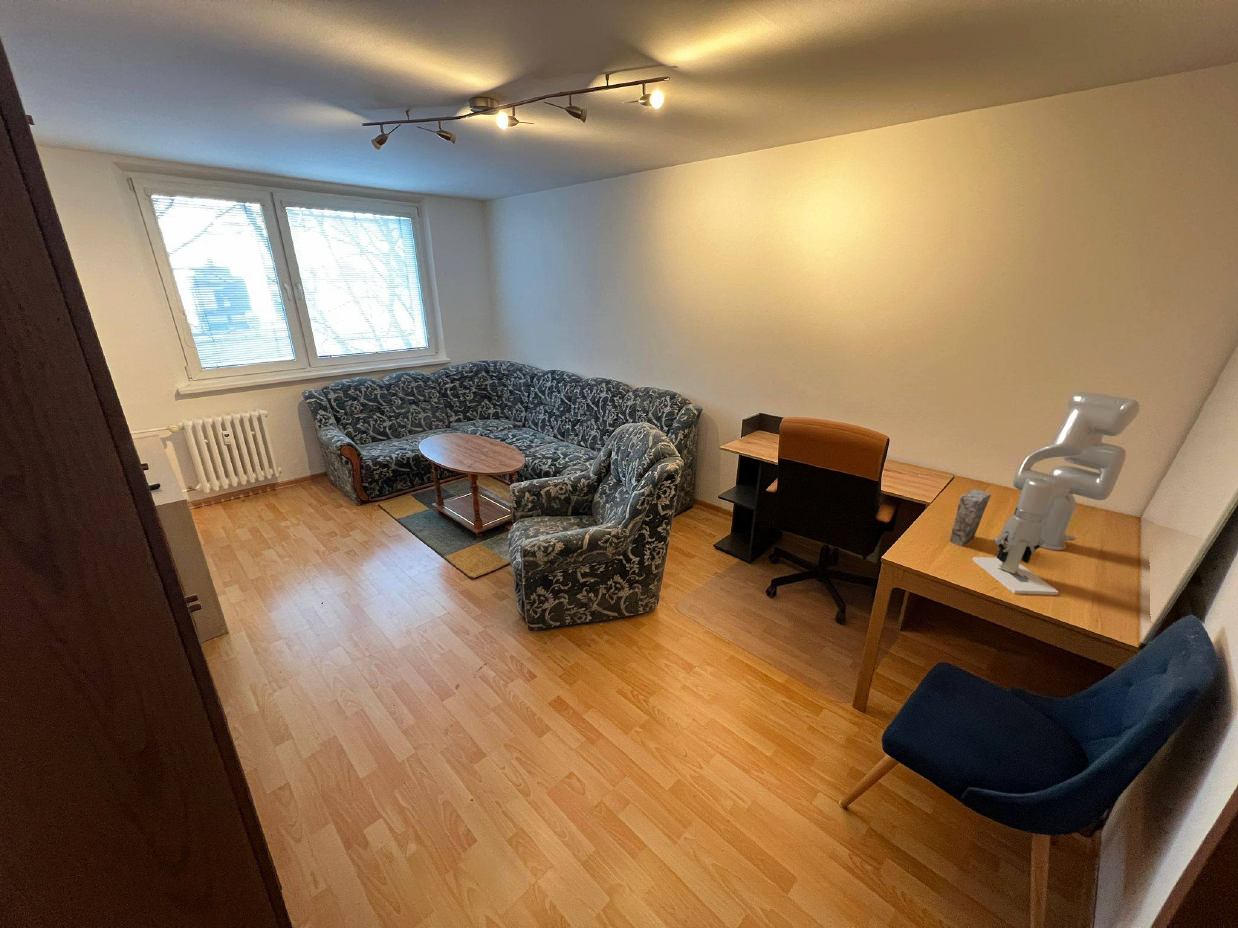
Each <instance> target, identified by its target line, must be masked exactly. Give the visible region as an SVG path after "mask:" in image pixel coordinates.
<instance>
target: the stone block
mask: <svg viewBox="0 0 1238 928" xmlns="http://www.w3.org/2000/svg"><path fill="white" fill-rule="evenodd" d="M990 498H991V493H988V492H986V491H982V490H980V489H977V488H973V489H972V490H970V491H968V492H967V493H963V494H962V495H961V496H960V499H959V503H958V506H957V511H956V515H955V519H954V524H953V527H952V530H951V534H950V538H949V541H950V542H951V543H953V544H956V545H958V546H961V547H965V546H967V544H969V543H970V542H971V541H972V540H973V539H975V536H976V533H977V531H978V528H979V526H980V524H981V521H982V518H983V516H984V513H985V510H986V508H987V506H988V502H989V501H990V500H991V499H990Z"/></svg>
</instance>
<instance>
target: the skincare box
mask: <svg viewBox="0 0 1238 928" xmlns="http://www.w3.org/2000/svg"><path fill="white" fill-rule="evenodd" d="M1027 544H1028V542H1021V541H1020V542H1018V543H1017V545H1016V546H1012V547H1011V548H1010V549H1009V550H1008V551H1007V552H1008V555H1007V558H1006V561H1005V562H1002V564H1001V567H1000V569H1002V570H1005V571H1008V572H1011V573H1014V574H1015V573H1016V571H1017V569H1018V567H1019V564H1021V562H1022V560H1021V559H1022V557H1023V554H1024V552H1025V549H1026V546H1027Z"/></svg>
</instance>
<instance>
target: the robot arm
mask: <svg viewBox="0 0 1238 928" xmlns="http://www.w3.org/2000/svg"><path fill="white" fill-rule="evenodd" d="M1139 411H1140V403H1139V402H1138V401H1137V400H1136V399H1133V398H1128V397H1127V398H1126V397H1122V396H1121V397H1120V396H1113V395H1108V394H1101V393H1095V392H1076V393H1073V394H1071V396H1070V398H1069V400H1068V410H1067V412H1066V413H1065V415H1064V416H1063V419H1062V421H1061V423H1060V424H1059V426H1058V428H1057V430H1056V432H1055V434H1054V436H1053V438H1052V439H1051V441H1050V443H1049V444H1046V445H1044V446H1040V447H1038V448H1037V449H1036V450H1033V451H1032V452H1030V453H1029V454H1028V455H1026V456H1025V458H1024V459H1023V460H1022V462H1021V463H1020V465H1019V467H1018V469H1017V470H1016V472H1015V474H1014V477H1013V479H1012V485H1013V486H1014V488H1015V489H1017V490H1020V491H1021V492H1020V496H1019V498H1018V502H1017V505H1016V507H1015V509H1014V513H1013V514H1011V515H1010V516H1009V517H1008V519H1007V520H1006V522H1005V524H1004V526H1003V527H1002V530H1001V532H1000V534H999V535H998V536H997V537H995V538H993V540H994V543H995V544H996V546H997V548H998V549H999V550H998V551H997V555H996V558H998V559H999V560H1000V561H1001V562H1005V561H1006V558H1007V555H1008V552H1007V551H1008V550H1009V549H1010V548H1011V547H1012V546H1016V545H1017V543H1018V542H1020V541H1021V542H1028V544H1027V546H1026V549H1025V552H1024V554H1023V557H1022V559H1021V561H1023V562H1024V563H1025V564H1029V563H1030V562H1029V561H1030V560H1031V557H1032V555H1033V554H1034V553H1035V552H1036V551H1037V550H1038V549H1040V548H1044V549H1048V550H1053V551H1054V550H1055V551H1063V550H1065V549H1066V547H1067V544H1066V541H1075V540H1076V536H1075V535H1069V534H1068V535H1067V530H1068V528H1069V525H1070V522H1071V520H1072V518H1073V516H1074V513H1075V511H1076V509H1077V501H1076V499H1075V496H1074V495H1076V496H1079V497H1083V498H1087V499H1092V500H1096V501H1105V500H1107V499H1108V498H1109V497H1110V496H1111V494H1112V492H1113V491H1114V490H1113V489H1114V488H1115V486H1116V483H1117V481H1118V479H1119V476H1120V474H1121V471H1122V469H1123V467H1124V464H1125V461H1126V458H1127V451H1126V449H1125V448H1123V447H1122V446H1119V445H1116V444H1111V443H1106V442H1103V441H1102V440H1103V437H1104V436H1109V437H1117V436H1118V435H1121V434H1122V433H1123V432H1124V431H1125V429H1127V428H1128V426H1129V425H1130V424H1131V423H1132V422H1133V421H1134V420H1135V419H1136V417H1137V416H1138V414H1139ZM1052 458H1053V459H1055V458H1062V459H1063V460H1064V461H1065V462H1067V463H1069V464H1074V465H1077V466H1081V467H1085V468H1090V469H1093V470H1098V471H1099V472H1096V471H1091V470H1087V469H1083V468H1081V467H1076V466H1073V465H1072V466H1071V465H1065V464H1064V465H1063V464H1062V465H1055V466H1054V467H1053V468H1052V469H1051V470H1050V471H1049V474H1048V473H1046V472H1045V473H1044V472H1041V471H1037V470H1033V469H1032V468H1033V467H1034V465H1036V464H1037V463H1039V462H1041V461H1044V460H1046V459H1052Z"/></svg>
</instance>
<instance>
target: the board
mask: <svg viewBox="0 0 1238 928" xmlns="http://www.w3.org/2000/svg"><path fill="white" fill-rule="evenodd" d="M972 561H973V562H974V563H975V564H977V565H978V566H979V567H980V568H982V569H983V570H984V571H985V572H986V573H988V574H989V575H990V576H992V577H993V578H994V579H995V580H997V581H998V582H999V583H1000V584H1001V585H1003V586H1004V587H1005V588H1006V589H1008V590H1009V591H1010V592H1012V594H1014V595H1015V594H1016V595H1017V594H1019V595H1020V594H1021V595H1022V594H1023V595H1025V594H1026V595H1048V596H1050V595H1053V596H1058V594H1059V591H1058V590H1057V589H1056V588H1054V587H1053V586H1051V585H1050V584H1049V583H1047V582H1046V581H1045V580H1043V579H1042V578H1040V577H1039V576H1037V575H1036V574H1035V573H1033V572H1032V571H1030V570H1029V569H1027V568H1026V567H1025V566H1024V565H1022V564H1021V563H1020V564H1019V567H1018V569H1017V571H1016V573H1015V574H1014V573H1011V572H1008V571H1005V570H1002V569H1000V567H1001V564H1002V562H1001V561H1000V560H999V559H998V558H997V557H987V556H986V557H983V556H982V557H981V556H978V557H977V556H973V557H972Z"/></svg>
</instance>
